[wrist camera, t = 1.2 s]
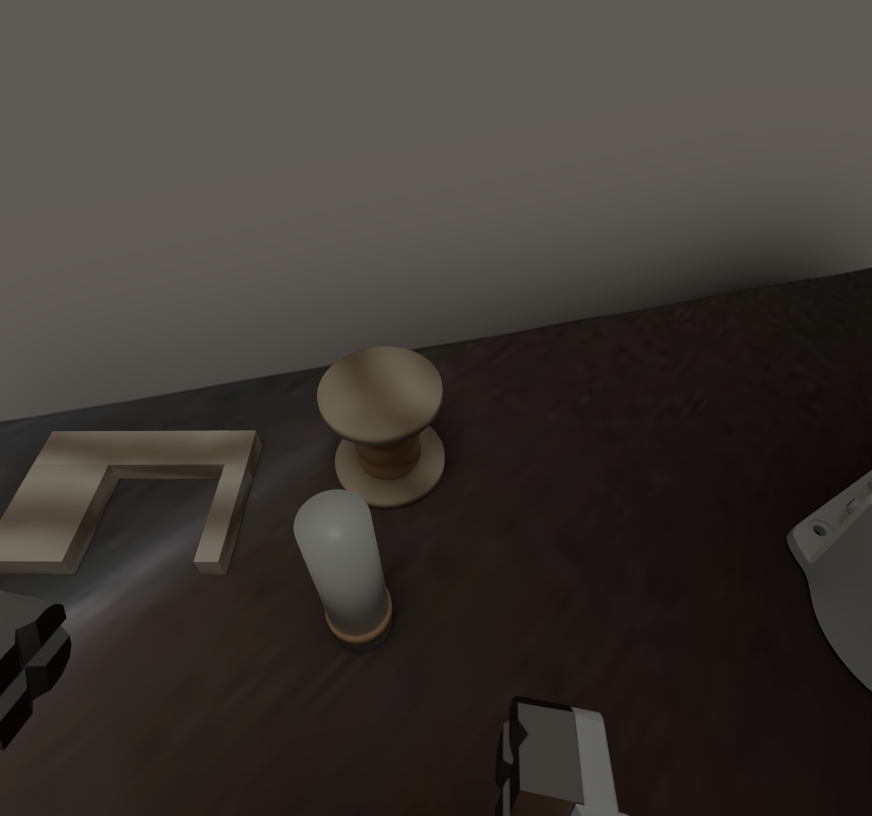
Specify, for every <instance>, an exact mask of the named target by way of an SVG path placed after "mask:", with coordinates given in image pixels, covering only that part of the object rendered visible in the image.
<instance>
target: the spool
mask: <svg viewBox="0 0 872 816" xmlns="http://www.w3.org/2000/svg"><path fill="white" fill-rule="evenodd" d="M442 399H443V398H442V381H441V377H440V375H439V372H438V371H437V369H436V368H435V366H434V365H433V364H432V363H431V362H430V361H429V360H427V359H426V358H425V357H423V356H422V355H420V354H418V353H416V352H413V351H410V350H408V349H403V348H398V347H373V348H368V349H363V350H360V351H356V352H354V353H352V354H349V355H347V356H345V357H344V358H342V359H340V360H339V361H337V362H336V363H335V364H334V365H332V366H331V367H330V368H329V370H328V371H327V372H326V373H325V375H324V376H323V378H322V379H321V381H320V384H319V387H318V392H317V400H318V405H319V409H320V412H321V416H322V418H323V420H324V422H325V424H326V425H327V427H328V428H329V429H330V430H331V431H332V432H334V433H335V434H336V435H337V436H339V437H341V438H342V441H341V443H340V444H339V447H338V449H337V452H336V456H335V468H336V472H337V476H338V480H339V482H340V485H341V487H342V488H343V490H346V491H350V492H353V493H355V494H357V495H358V496H360V497H361V498H362V499H363V500H364V501H365V502H366V504H367V505H368V507H371V508H375V509H384V510H389V509H399V508H403V507H407V506H410V505H412V504H415V503H417V502H419V501H420V500H422V499H424V498H425V497H426V496H428V495H429V494H430V493H431V492H432V491H433V490H434V489H435V488H436V486H437V485H438V483H439V482H440V480H441V478H442V475H443V472H444V466H445V456H444V447H443V444H442V441H441V439H440V438H439V436H438V434H437V433H436V432H435V431H434V430H433V429H432V428H431V427H430V426H429V425H430V424H431V423H432V422H433V421H434V420H435V418H436V417H437V415H438V413H439V411H440V408H441V405H442Z"/></svg>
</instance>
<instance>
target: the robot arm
mask: <svg viewBox="0 0 872 816" xmlns="http://www.w3.org/2000/svg"><path fill="white" fill-rule="evenodd" d="M814 531H817V532H819V533H820V534H821V536H820V535H818V534H816V533H815V532H814ZM787 543H788V546H789V548H790V550H791V552H792V553H793V555H794V557H795V558H796V560H797V561H798V563H799V565H800V566H801V568H802V569H803V571H804V572H805V574H806V577H807V580H808V584H809V589H810V594H811V599H812V604H813V608H814V611H815V614H816V617H817V619H818V622H819V624H820V626H821V628H822V630H823V632H824V634H825V636H826V638H827V639H828V641H829V643H830V644H831V646H832V647H833V649H834V650H835V652H836V653H837V654H838V656H839V657H840V659H841V660H842V661H843V662H844V663H845V665H846V666H847V667H848V668H849V669H850V670H851V672H852V673H853V674H854V675H855V676H856V677H857V678H858V679H859V680H860V681H861V682H862V683H863V684H864V685H865V686H866V687H867V688H869V689H870V690H871V691H872V470H871V471H870V472H868V473H867V474H866V475H864V476H863V477H862V478H860V479H859V480H857V481H856V482H855V483H853V484H852V485H851V486H849V487H848V488H847V489H845V490H844V491H842V492H841V493H840V494H838V495H837V496H836V497H834V498H833V499H832V500H830V501H829V502H827V503H826V504H825V505H823V506H822V507H821V508H819V509H818V510H817V511H815V512H814V513H812V514H811V515H810V516H808V517H807V518H806V519H804V520H803V521H801V522H800V523H799V524H797V525H796V526H795V527H794V528H793V529H791V530H790V531H789V533H788V534H787ZM65 619H66V614H65V610H64V606H63V605H61V604H57V603H52V602H48V601H43V600H39V599H35V598H30V597H26V596H21V595H17V594H12V593H8V592H4V591H0V750H5V748H6V747H7V746H8V745H9V743H10V742H11V741H12V739H13V738H14V737H15V736H16V734H17V733H18V732H19V730H20V729H21V728H22V727H23V725H24V724H25V723H26V721H27V720H28V719H29V718H30V716H31V715H32V714H33V700H34V699H35V698H37V697H39V696H41V695H43V694H44V693H46V692H48V691H50V690H51V689H52V688H53V686H54V685H55V684H56V682H57V681H58V679H59V678H60V677H61V675H62V674H63V671H64V669H65V667H66V665H67V662H68V660H69V658H70V652H71V640H70V635H69V634H68V633H67V632H66V631H65V630H64V629H63V628H62V627H61V626H60V625H61V624H62V623H63V622H64V620H65ZM495 782H496V783H497V785H498V787H499V789H500V790H501V794H500V797H499V799H498V802H497V805H496V808H495V816H628V815H627V814H623V813H619V811H618V805H617V799H616V793H615V786H614V780H613V774H612V768H611V762H610V756H609V750H608V744H607V738H606V732H605V726H604V720H603V718H602V716H601V714H600V713H598V712H595V711H589V710H584V709H578V708H573V707H570V706H568V705H562V704H557V703H552V702H546V701H541V700H536V699H530V698H525V697H520V696H515V697H514V698H513V699H512V702H511V705H510V707H509V721H508V722H506V723H505V724H503V727H502V731H501V734H500V737H499V743H498V749H497V756H496V777H495Z"/></svg>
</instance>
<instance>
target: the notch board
mask: <svg viewBox="0 0 872 816" xmlns="http://www.w3.org/2000/svg"><path fill="white" fill-rule="evenodd" d="M261 448H262V444H261V441H260V439H259V436H258V434H257V431H69V432H52V433H51V435H50V437H49V439H48V440H47V442H46V444H45V445H44V447H43V449H42V450H41V452H40V454H39V455H38V457H37V459H36V461H35V462H34V464H33V466H32V467H31V469H30V471H29V472H28V474H27V476H26V478H25V479H24V481H23V483H22V484H21V486H20V488H19V489H18V491H17V493H16V494H15V496H14V498H13V500H12V501H11V503H10V505H9V506H8V508H7V510H6V511H5V513H4V515H3V517H2V518H1V520H0V574H76V572H77V570H78V568H79V565H80V563H81V561H82V559H83V557H84V555H85V552H86V550H87V548H88V546H89V544H90V541H91V539H92V537H93V535H94V533H95V531H96V528H97V526H98V524H99V522H100V520H101V518H102V515H103V513H104V511H105V509H106V507H107V505H108V502H109V500H110V498H111V496H112V494H113V491H114V489H115V487H116V485H117V483H118V481H119V479H220V481H219V484H218V487H217V490H216V493H215V497H214V500H213V503H212V506H211V509H210V512H209V515H208V518H207V521H206V525H205V528H204V531H203V534H202V537H201V540H200V543H199V546H198V549H197V553H196V556H195V559H194V563H195V565H196V566H197V568H198V569H199V570H200V572H201V573H202V575H227V571H228V567H229V564H230V560H231V557H232V553H233V549H234V546H235V542H236V538H237V535H238V531H239V528H240V524H241V520H242V517H243V513H244V510H245V506H246V502H247V499H248V495H249V491H250V488H251V484H252V481H253V477H254V473H255V470H256V466H257V462H258V459H259V455H260V452H261Z"/></svg>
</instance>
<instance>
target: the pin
mask: <svg viewBox="0 0 872 816" xmlns="http://www.w3.org/2000/svg"><path fill="white" fill-rule="evenodd" d="M294 534H295V537H296V540H297V542H298V545H299V547H300V550H301V552H302V555H303V557H304V560H305V562H306V564H307V567H308V569H309V572H310V574H311V577H312V579H313V581H314V584H315V586H316V589H317V591H318V594H319V596H320V599H321V601H322V603H323V606H324V608H325V615H326V619H327V622H328V624H329V627H330V629H331V631H332V633H333V634H334V636H335V637H336V638H337V639H338V641H339V642H340V643H341V644H342V645H343V646H344V647H346V648H347V649H350V650H352V651H358V652H362V651H368V650H371V649H374V648H376V647H377V646H379V645H380V644H381V643H382V642H383V641H384V640H385V639H386V638H387V636H388V635H389V633H390V630H391V627H392V615H393V608H392V602H391V597H390V594H389V591H388V590H387V588H386V585H385V580H384V575H383V571H382V566H381V561H380V556H379V552H378V547H377V542H376V538H375V533H374V528H373V523H372V519H371V514H370V510H369V508H368V505H367V504H366V502H365V501H364V500H363V499H362V498H361V497H360V496H358V495H357V494H355V493H353V492H350V491H346V490H328V491H324V492H322V493H319V494H317V495H315V496H313V497H312V498H310V499H309V500H308V501H306V502H305V503H304V504H303V506H302V507H301V508H300V510H299V511H298V513H297V515H296V518H295V521H294Z"/></svg>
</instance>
